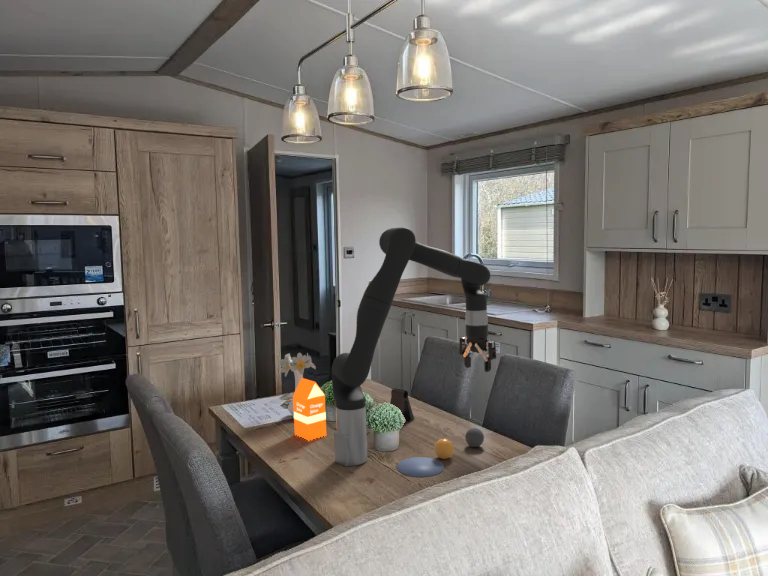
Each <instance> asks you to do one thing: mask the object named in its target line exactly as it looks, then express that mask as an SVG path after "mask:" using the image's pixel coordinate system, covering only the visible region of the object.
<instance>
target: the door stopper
mask: <svg viewBox="0 0 768 576" xmlns="http://www.w3.org/2000/svg"><path fill="white" fill-rule="evenodd" d="M390 395H391V398H390V401H389V405H390V404H393V405H395V406H396V407H398V408H399V409H400V410H401V412H402V414H403V415H404V417H405V419H406V422H407V423H409V422H411V420H412V421H414V420H415V417H414V413H413V409H412V407H411V402H410V400H409V392H408V390H405V389H401V388H396V387H395V388H392V389H391V392H390ZM413 419H414V420H413ZM408 421H409V422H408Z"/></svg>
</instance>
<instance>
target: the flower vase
mask: <svg viewBox="0 0 768 576" xmlns="http://www.w3.org/2000/svg"><path fill="white" fill-rule="evenodd" d="M312 361H313V360H312V356H311V355H309V353H308V352H307V353H306V354H302V353H301V352H298V353H297V355H296V356H293V357H291V352H290V353H287V354H285V355H284V358H282V359H280V360H279V364H280V365H279V367H280V372H281V373H282V374H283V373H284V377H286V378H287V375H288V373H289V372H290V371H291V372H293V374H294V380H295V381H294V384H295V385H294V387H295V388H294V389H295V390H294V392H295V391H296V389H297V387H298V385H299V383H300V381H301V379H302V378H304V371H305V369H310V368H312V369H314V370H316V368H317V367H316V365H315V364H314V363H313V362H312ZM287 410H288V412H289V413H290V415H291V416H292V418H294V404H293V399H292V400H291V401H290V402H289V404H288V406H287Z"/></svg>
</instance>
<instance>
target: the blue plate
mask: <svg viewBox="0 0 768 576" xmlns="http://www.w3.org/2000/svg"><path fill="white" fill-rule="evenodd" d="M396 469H397V471H398V472H399V473H401V474H402V475H404V476H408V477H414V478H425V477H426V478H427V477H433V476H437V475H438V474H441V472H443V471H444V469H445V466H444V463H443V462H442V461H440V460H438V459H435V458H432V457H427V456H425V457H424V456H417V457H409V458H406V459H402V460H401V461H399V462H398V464H397V465H396Z"/></svg>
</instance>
